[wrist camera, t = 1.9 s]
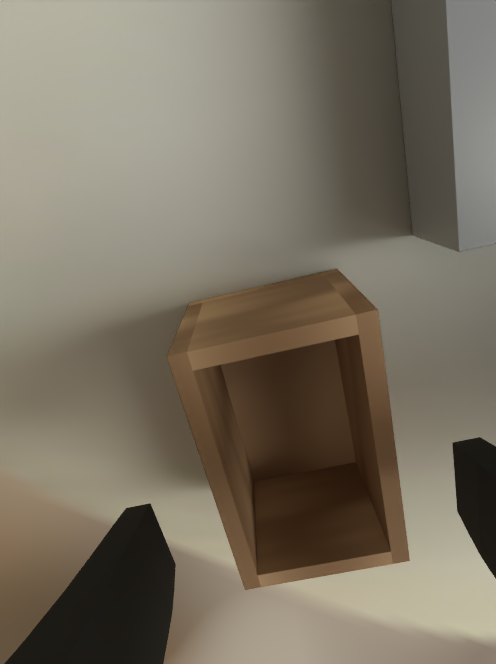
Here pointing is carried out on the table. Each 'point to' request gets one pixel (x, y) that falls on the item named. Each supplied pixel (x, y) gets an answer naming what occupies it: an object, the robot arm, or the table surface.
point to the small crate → (294, 427)
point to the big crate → (449, 117)
